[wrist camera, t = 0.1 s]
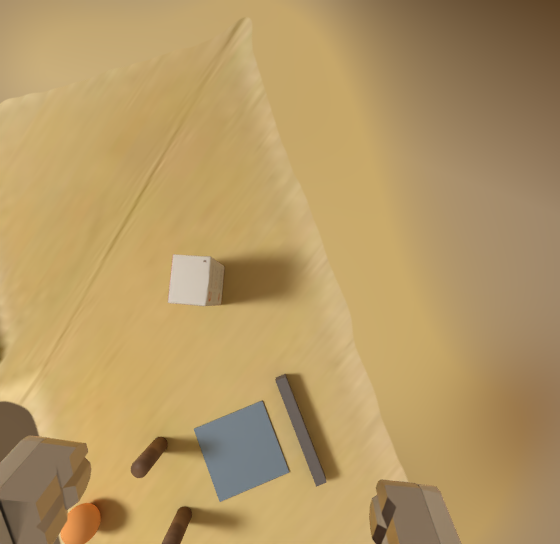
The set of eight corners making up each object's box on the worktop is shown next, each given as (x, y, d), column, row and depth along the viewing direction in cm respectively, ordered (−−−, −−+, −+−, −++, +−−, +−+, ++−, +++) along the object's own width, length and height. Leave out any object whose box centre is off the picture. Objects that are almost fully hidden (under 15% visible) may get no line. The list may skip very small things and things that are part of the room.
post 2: (193, 519, 59) (178, 557, 50) (179, 525, 59) (162, 564, 50) (188, 504, 60) (172, 539, 51) (174, 510, 59) (156, 546, 50)
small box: (193, 263, 64) (172, 252, 51) (225, 265, 64) (211, 255, 51) (189, 303, 63) (166, 303, 50) (221, 305, 63) (206, 306, 50)
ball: (111, 522, 59) (92, 547, 53) (80, 535, 59) (58, 561, 53) (101, 490, 60) (81, 511, 54) (70, 503, 59) (47, 525, 53)
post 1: (169, 448, 60) (150, 473, 52) (155, 454, 60) (134, 480, 51) (164, 434, 61) (144, 457, 52) (150, 440, 61) (128, 463, 52)
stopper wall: (324, 474, 60) (326, 482, 58) (314, 478, 60) (316, 486, 58) (285, 373, 62) (285, 376, 60) (275, 377, 62) (275, 380, 59)
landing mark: (289, 471, 60) (289, 472, 60) (219, 501, 60) (219, 501, 59) (262, 400, 61) (262, 400, 61) (194, 428, 61) (193, 429, 61)
